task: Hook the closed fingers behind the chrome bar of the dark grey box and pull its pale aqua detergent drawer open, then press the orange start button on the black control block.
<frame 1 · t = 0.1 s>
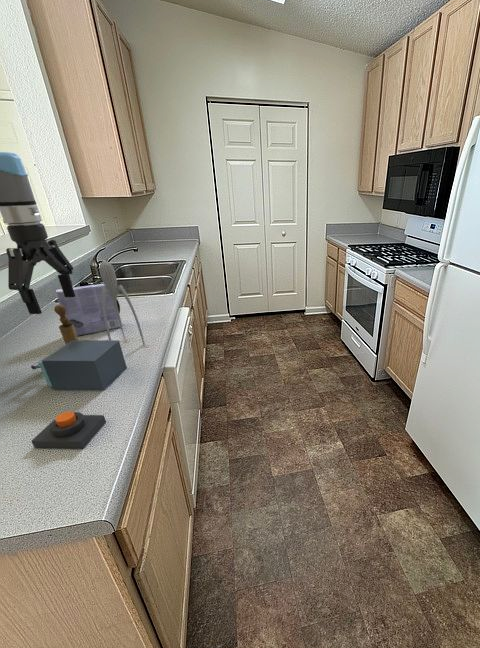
hand: (54, 304, 92), 22 cm above the counter, tool pointing down, fingers open, 13 cm apart
cake pan box: (98, 330, 131), on the counter
control block: (72, 434, 77), on the counter
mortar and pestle: (76, 356, 112), on the counter
juicer: (132, 345, 118), on the counter
start button: (66, 419, 75), point 4 cm above the counter, slide at 0.1 cm
dispenser drawer: (71, 364, 96), point 5 cm above the counter, slide at 0.5 cm
dark grey box: (92, 378, 98), on the counter
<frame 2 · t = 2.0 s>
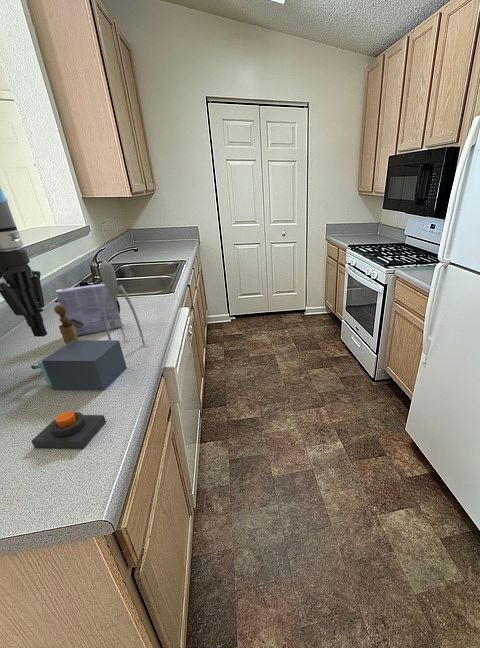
hand: (41, 335, 93), 14 cm above the counter, tool pointing down, fingers closed
nothing on the counter moved.
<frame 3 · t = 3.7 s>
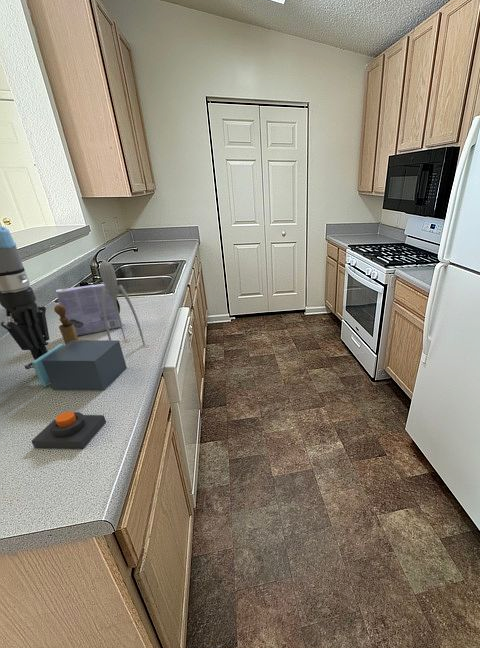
hand: (45, 366, 97), 4 cm above the counter, tool pointing down, fingers closed
dispenser drawer: (65, 364, 97), point 5 cm above the counter, slide at 2.4 cm, touching gripper
everything else where it was.
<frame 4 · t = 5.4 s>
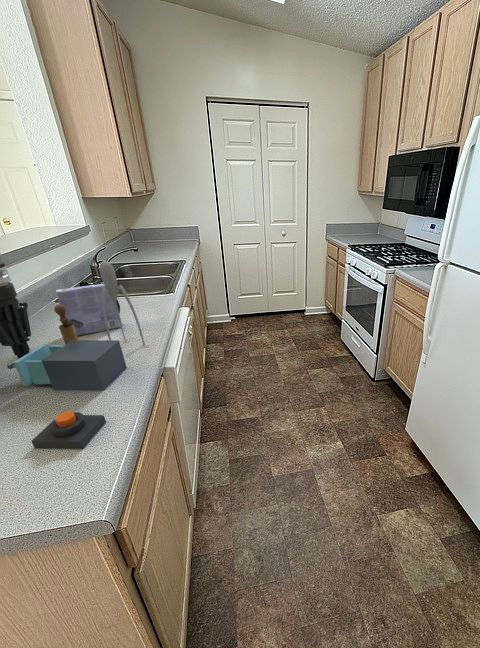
hand: (27, 363, 97), 5 cm above the counter, tool pointing down, fingers closed
dispenser drawer: (48, 364, 97), point 5 cm above the counter, slide at 7.5 cm
everything else where it was.
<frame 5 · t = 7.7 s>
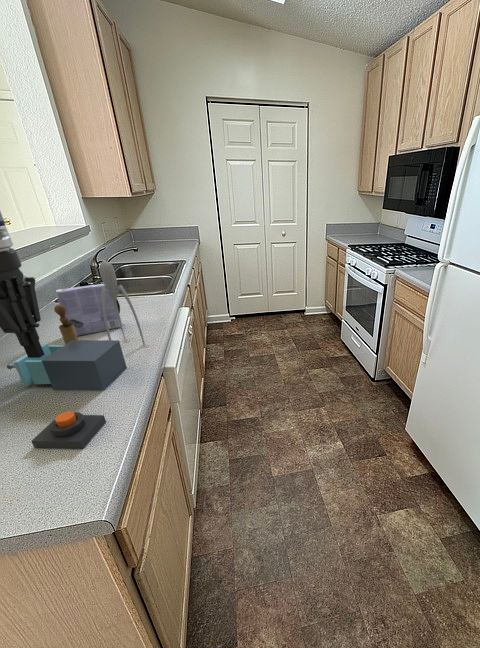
hand: (36, 356, 75), 17 cm above the counter, tool pointing down, fingers closed
nothing on the counter moved.
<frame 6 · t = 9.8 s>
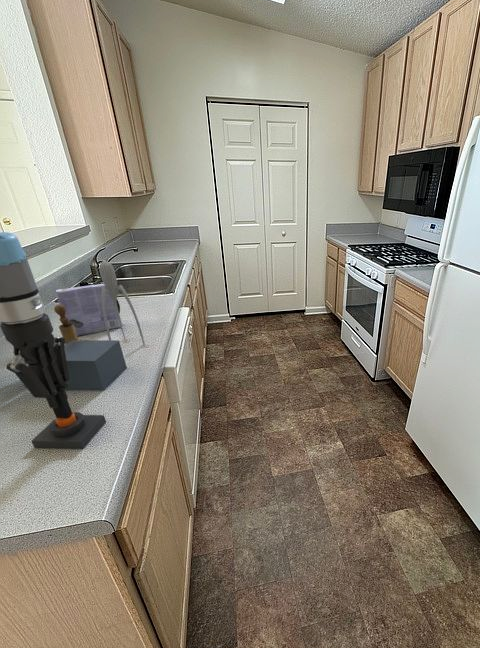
hand: (64, 415, 74), 6 cm above the counter, tool pointing down, fingers closed
start button: (66, 419, 75), point 4 cm above the counter, slide at 0.1 cm, touching gripper
everything else where it was.
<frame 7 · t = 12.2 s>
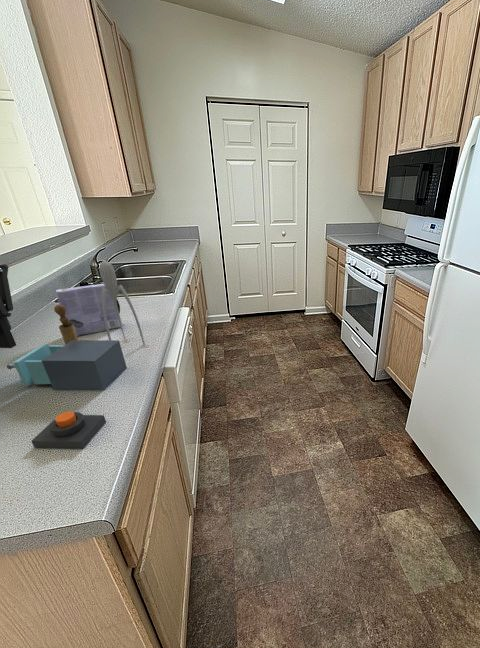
hand: (7, 346, 73), 20 cm above the counter, tool pointing down, fingers closed
start button: (66, 419, 75), point 4 cm above the counter, slide at 0.1 cm
everything else where it was.
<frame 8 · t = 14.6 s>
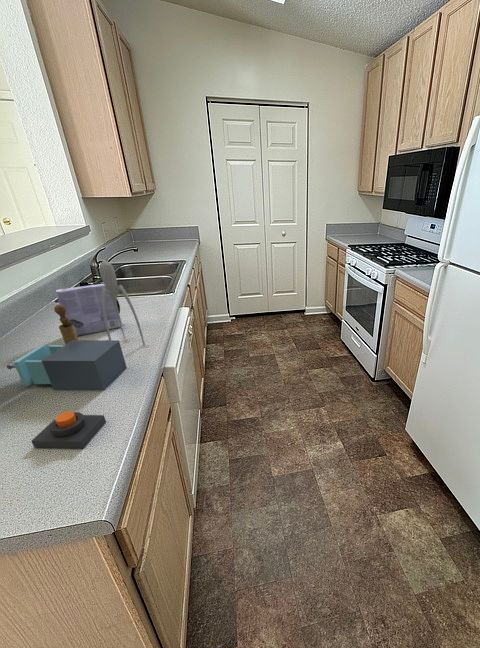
nothing on the counter moved.
at the end: dispenser drawer slide at 7.6 cm; start button pushed in 1.0 cm at the most during the clip, back to where it started at the end; start button slide at 0.1 cm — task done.
